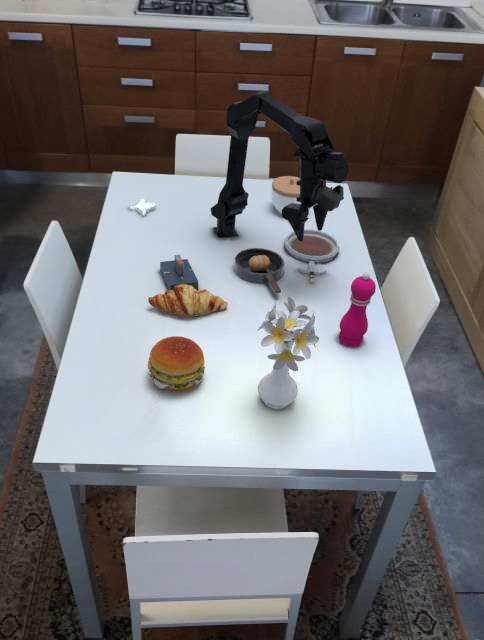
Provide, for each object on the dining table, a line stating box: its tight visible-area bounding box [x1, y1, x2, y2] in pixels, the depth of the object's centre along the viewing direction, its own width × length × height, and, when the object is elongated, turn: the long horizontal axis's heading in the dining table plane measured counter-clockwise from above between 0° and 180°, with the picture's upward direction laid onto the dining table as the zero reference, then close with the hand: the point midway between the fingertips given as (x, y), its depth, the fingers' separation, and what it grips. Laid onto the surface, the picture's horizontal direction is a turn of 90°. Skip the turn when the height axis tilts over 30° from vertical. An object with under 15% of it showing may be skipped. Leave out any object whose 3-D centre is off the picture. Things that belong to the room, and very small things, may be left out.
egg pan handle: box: [265, 274, 282, 294], centre depth 178 cm, size 8×2×1 cm, turn 18°
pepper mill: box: [338, 272, 377, 348], centre depth 161 cm, size 7×7×20 cm
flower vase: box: [256, 295, 320, 410], centre depth 141 cm, size 13×18×25 cm
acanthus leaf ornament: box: [129, 198, 157, 217], centre depth 208 cm, size 8×7×2 cm
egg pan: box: [233, 247, 285, 284], centre depth 186 cm, size 14×14×4 cm
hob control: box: [159, 258, 199, 291], centre depth 180 cm, size 12×8×3 cm
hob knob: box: [174, 254, 184, 276], centre depth 178 cm, size 4×2×4 cm, turn 18°
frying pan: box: [283, 228, 340, 285], centre depth 193 cm, size 17×3×28 cm
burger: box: [147, 335, 206, 393], centre depth 150 cm, size 13×14×10 cm
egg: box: [249, 255, 270, 272], centre depth 186 cm, size 4×6×4 cm
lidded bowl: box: [271, 175, 301, 216], centre depth 210 cm, size 13×13×11 cm
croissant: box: [147, 284, 229, 318], centre depth 171 cm, size 21×10×8 cm, turn 95°
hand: (310, 235), depth 175 cm, fingers open, 9 cm apart
